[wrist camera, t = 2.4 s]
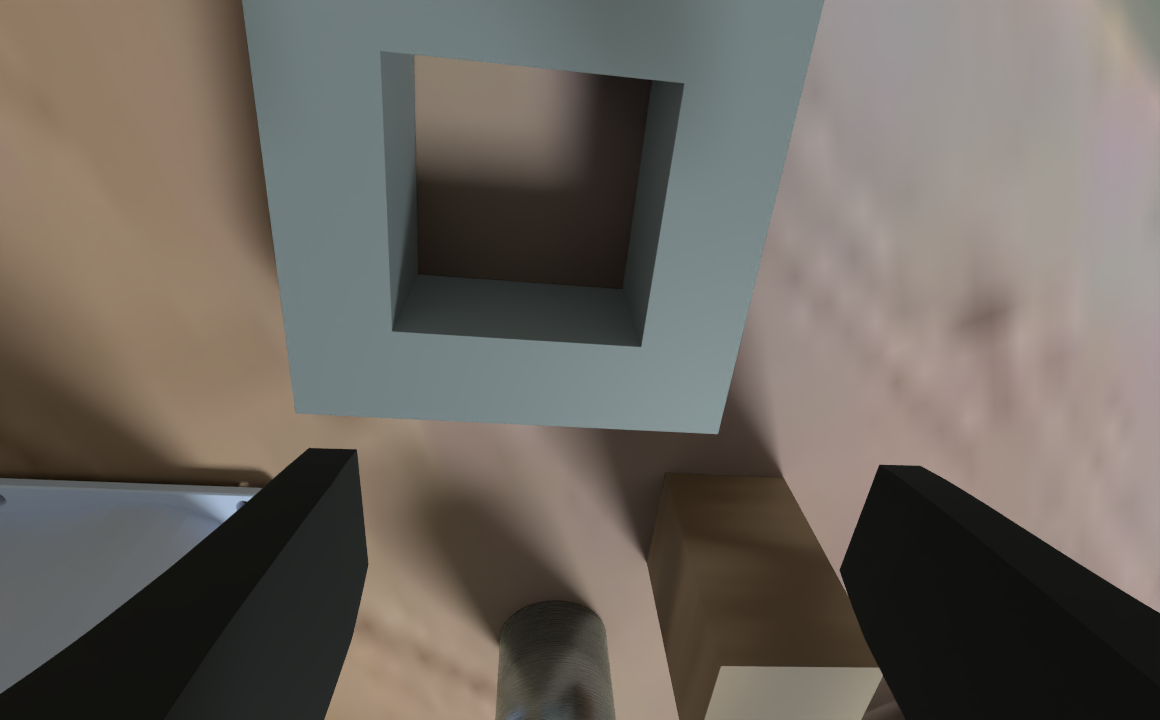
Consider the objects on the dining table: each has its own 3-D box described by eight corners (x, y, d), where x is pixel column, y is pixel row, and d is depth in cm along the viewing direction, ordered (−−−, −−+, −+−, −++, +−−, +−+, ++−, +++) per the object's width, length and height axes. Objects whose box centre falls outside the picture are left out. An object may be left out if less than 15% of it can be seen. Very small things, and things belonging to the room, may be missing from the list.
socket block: (337, 344, 18) (295, 413, 15) (299, -91, 13) (225, -125, 10) (687, 365, 19) (718, 434, 16) (769, -31, 14) (834, -45, 11)
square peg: (646, 563, 22) (689, 767, 16) (665, 472, 21) (721, 665, 14) (755, 565, 23) (837, 767, 17) (783, 477, 21) (887, 667, 15)
